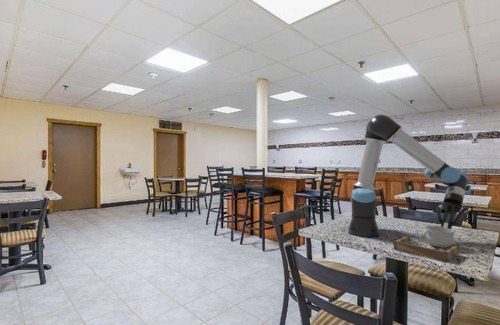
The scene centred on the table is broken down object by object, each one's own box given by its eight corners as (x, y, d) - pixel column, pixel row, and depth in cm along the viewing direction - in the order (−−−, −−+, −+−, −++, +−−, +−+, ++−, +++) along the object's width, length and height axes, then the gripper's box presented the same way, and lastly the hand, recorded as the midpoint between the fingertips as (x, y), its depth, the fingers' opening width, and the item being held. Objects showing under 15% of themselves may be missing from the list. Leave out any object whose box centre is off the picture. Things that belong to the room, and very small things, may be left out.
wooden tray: (406, 243, 124) (406, 236, 124) (457, 254, 109) (457, 246, 109) (393, 249, 116) (393, 241, 116) (447, 262, 100) (447, 253, 100)
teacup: (441, 242, 126) (441, 225, 126) (460, 249, 116) (460, 231, 116) (413, 242, 126) (413, 225, 126) (429, 250, 115) (429, 231, 115)
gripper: (471, 203, 132) (462, 243, 122) (440, 200, 142) (429, 237, 132) (469, 193, 129) (459, 234, 118) (437, 191, 139) (426, 228, 128)
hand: (443, 235), depth 125 cm, fingers closed
